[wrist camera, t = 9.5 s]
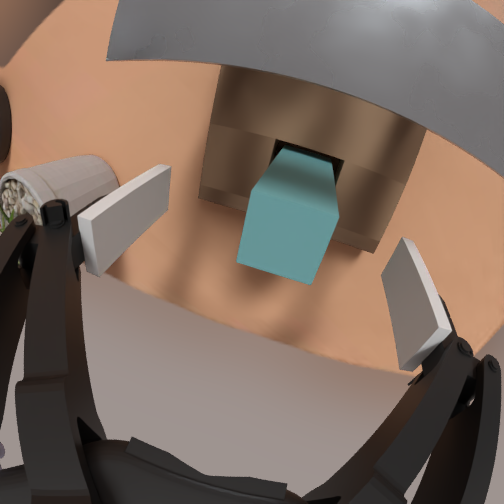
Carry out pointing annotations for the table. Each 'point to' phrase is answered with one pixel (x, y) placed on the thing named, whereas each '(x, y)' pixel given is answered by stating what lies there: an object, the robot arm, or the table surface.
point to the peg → (290, 216)
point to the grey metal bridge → (345, 54)
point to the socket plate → (313, 137)
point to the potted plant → (54, 186)
